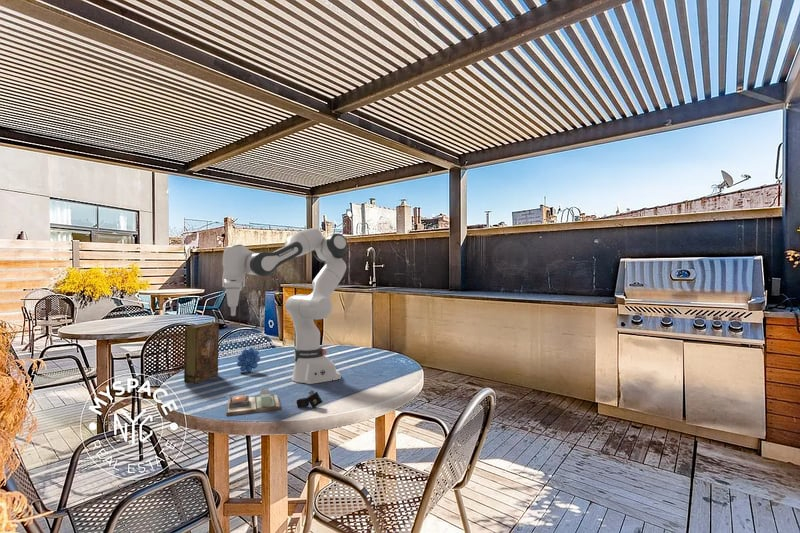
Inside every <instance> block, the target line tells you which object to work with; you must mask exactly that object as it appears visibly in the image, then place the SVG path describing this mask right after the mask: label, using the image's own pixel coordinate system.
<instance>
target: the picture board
mask: <svg viewBox="0 0 800 533" xmlns="http://www.w3.org/2000/svg"><path fill="white" fill-rule="evenodd" d="M246 396H247V401H241V402H232V397H233V396H230V397H229V399H228V400H227V406H226V416H237V415H245V414H252V413H254V414H255V413H261V412H270V411H279V410H281V408H282V406H281V403H280V399H279V396H278V394H274V393H273V394H270V396H271V404H270V405H268V406H261V398H260V395H255V396H249V395H246Z"/></svg>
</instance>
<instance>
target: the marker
mask: <svg viewBox="0 0 800 533" xmlns="http://www.w3.org/2000/svg"><path fill="white" fill-rule="evenodd" d="M259 394H260V395H259V396H260V398H261V406H268V405H270V404H271V396H270V395H271V393H270V389H269V388H264V389H260V393H259Z"/></svg>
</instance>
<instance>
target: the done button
mask: <svg viewBox="0 0 800 533" xmlns="http://www.w3.org/2000/svg"><path fill="white" fill-rule="evenodd" d="M247 396H248V395H243V394H240V395H234V396H231V397H232V402H241V401H247Z"/></svg>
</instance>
